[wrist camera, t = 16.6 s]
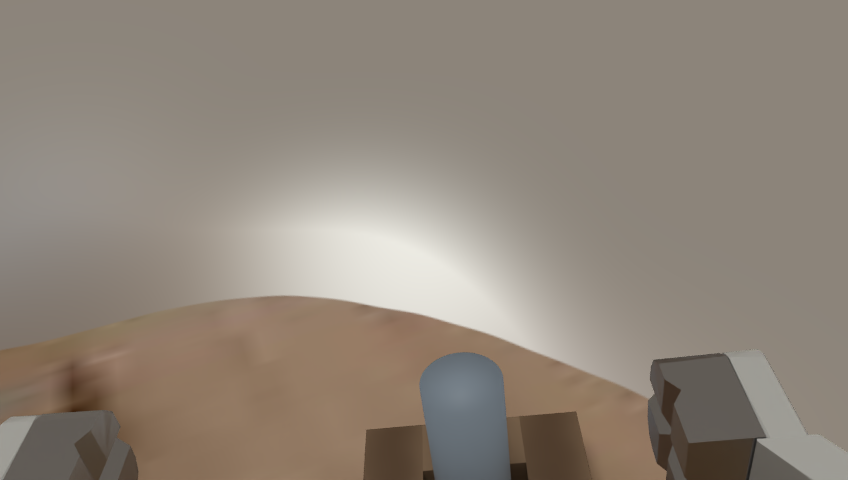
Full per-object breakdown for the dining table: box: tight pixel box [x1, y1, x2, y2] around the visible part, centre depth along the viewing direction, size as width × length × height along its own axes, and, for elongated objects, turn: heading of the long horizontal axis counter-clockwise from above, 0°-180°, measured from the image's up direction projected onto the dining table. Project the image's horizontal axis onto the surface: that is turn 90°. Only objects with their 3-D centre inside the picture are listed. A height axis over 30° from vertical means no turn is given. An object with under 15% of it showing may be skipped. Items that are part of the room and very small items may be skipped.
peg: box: [420, 352, 511, 480], centre depth 41 cm, size 4×4×14 cm
